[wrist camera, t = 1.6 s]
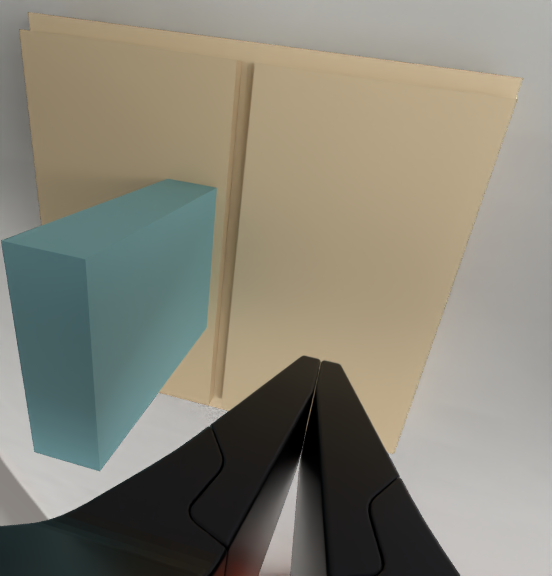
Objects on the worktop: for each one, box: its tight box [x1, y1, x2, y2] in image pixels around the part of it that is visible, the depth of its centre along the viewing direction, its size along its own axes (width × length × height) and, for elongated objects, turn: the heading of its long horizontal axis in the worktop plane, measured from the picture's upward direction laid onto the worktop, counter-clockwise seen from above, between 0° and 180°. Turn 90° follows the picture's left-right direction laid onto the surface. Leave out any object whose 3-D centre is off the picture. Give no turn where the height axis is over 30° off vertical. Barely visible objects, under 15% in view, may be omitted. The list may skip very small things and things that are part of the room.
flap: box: [1, 29, 242, 471], centre depth 12 cm, size 7×12×7 cm, turn 172°
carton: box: [28, 12, 523, 454], centre depth 15 cm, size 14×13×2 cm
